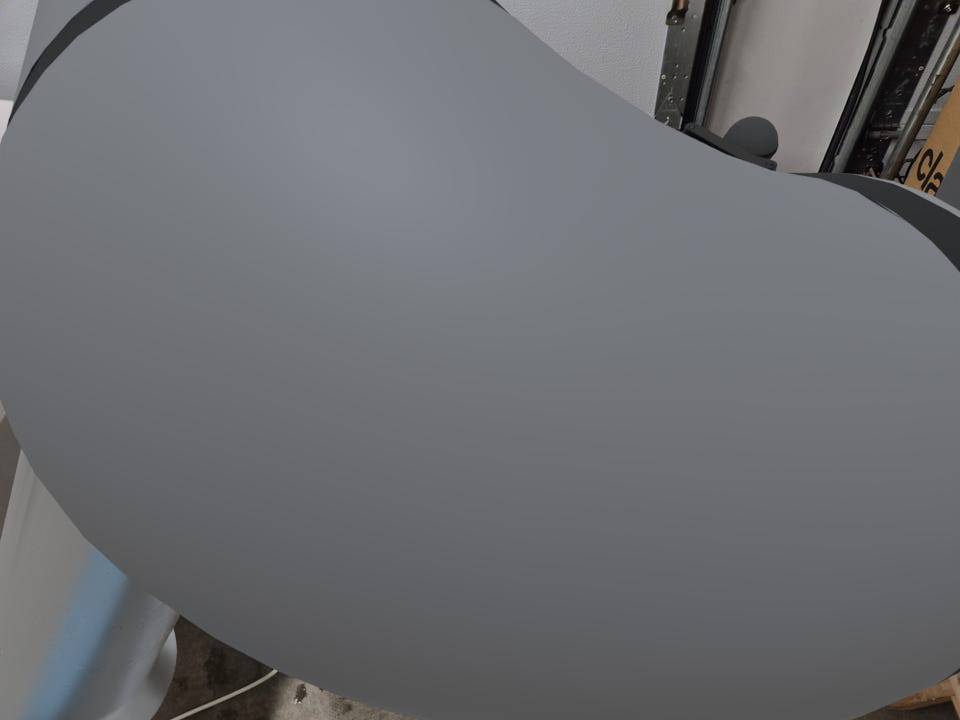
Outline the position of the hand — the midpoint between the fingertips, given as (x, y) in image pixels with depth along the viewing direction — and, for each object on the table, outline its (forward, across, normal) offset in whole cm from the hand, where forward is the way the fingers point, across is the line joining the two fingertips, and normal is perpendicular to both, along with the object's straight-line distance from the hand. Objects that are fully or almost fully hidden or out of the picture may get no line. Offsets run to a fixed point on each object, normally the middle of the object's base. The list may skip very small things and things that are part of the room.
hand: (561, 170), depth 55 cm
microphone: (-6, +33, -29) cm, 45 cm away
